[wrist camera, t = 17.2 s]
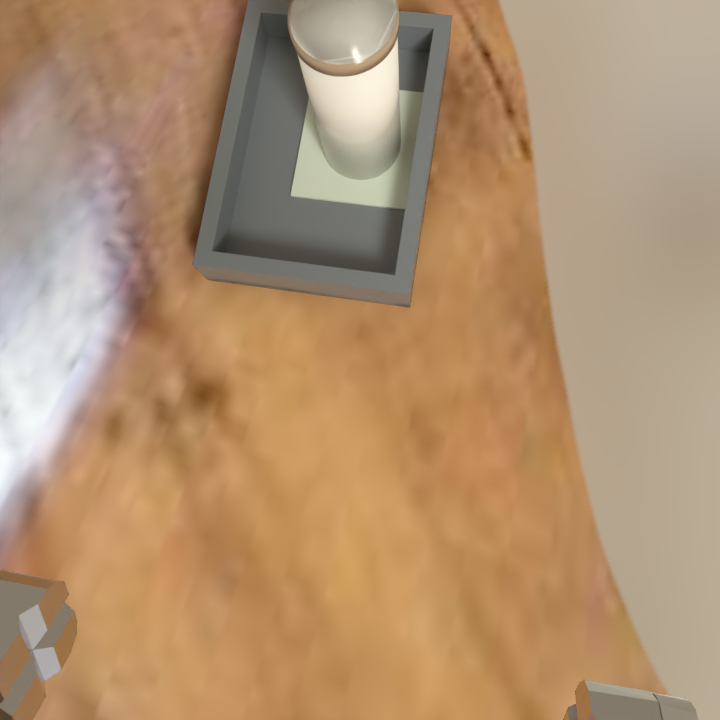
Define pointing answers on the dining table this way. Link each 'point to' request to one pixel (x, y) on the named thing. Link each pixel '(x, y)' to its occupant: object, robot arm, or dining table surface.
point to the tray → (317, 174)
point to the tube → (351, 80)
